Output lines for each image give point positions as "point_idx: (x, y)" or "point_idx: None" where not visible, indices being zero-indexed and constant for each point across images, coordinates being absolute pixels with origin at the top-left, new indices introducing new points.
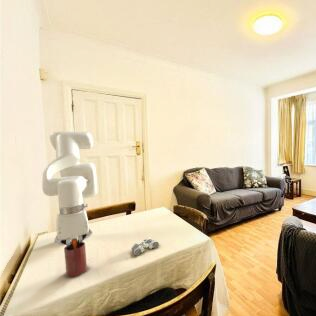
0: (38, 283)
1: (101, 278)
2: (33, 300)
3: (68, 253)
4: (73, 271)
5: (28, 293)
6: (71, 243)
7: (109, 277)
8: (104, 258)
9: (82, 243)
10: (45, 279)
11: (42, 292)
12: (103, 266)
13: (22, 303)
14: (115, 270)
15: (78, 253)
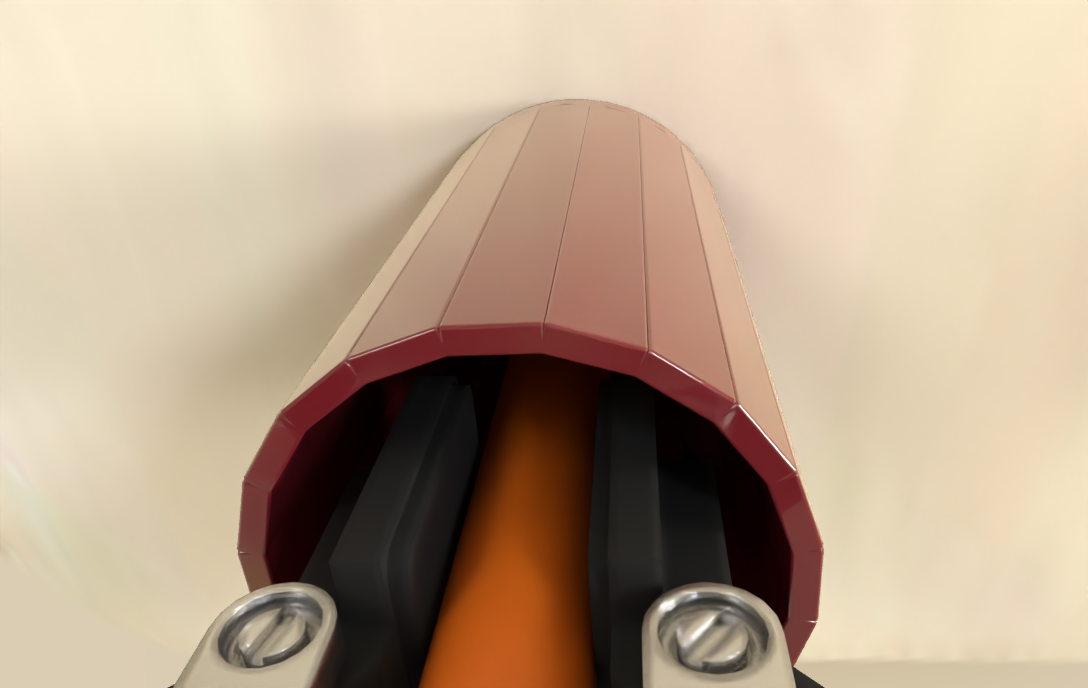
0: (102, 209)
1: (842, 616)
2: (186, 544)
3: None
4: None
5: (75, 379)
6: (410, 620)
7: (926, 655)
8: (1074, 53)
9: (755, 451)
10: (162, 153)
11: (230, 461)
12: (955, 351)
13: (97, 526)
14: (1048, 566)
15: None
